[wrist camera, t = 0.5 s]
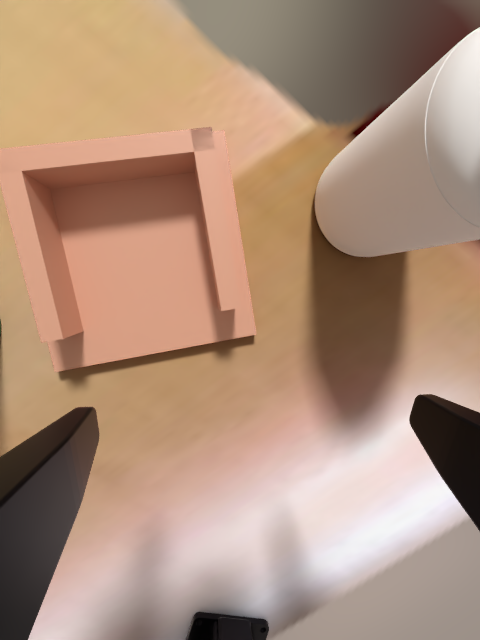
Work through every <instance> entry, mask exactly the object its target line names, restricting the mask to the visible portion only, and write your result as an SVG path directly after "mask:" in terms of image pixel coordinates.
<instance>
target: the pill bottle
mask: <svg viewBox="0 0 480 640" xmlns="http://www.w3.org/2000/svg"><path fill="white" fill-rule="evenodd" d="M315 213H316V218H317V222H318V224H319V227H320V229H321V231H322V233H323V234H324V236H325V237H326V239H327V240H328V241H329V242H330V243H331V244H332V245H333V246H334V247H336V248H337V249H338V250H340V251H342V252H344V253H346V254H349V255H352V256H358V257H375V256H381V255H387V254H393V253H399V252H405V251H411V250H418V249H424V248H430V247H436V246H442V245H448V244H454V243H460V242H467V241H473V240H479V239H480V27H479V28H478V29H476V30H474V31H473V32H472V33H470V34H469V35H468V36H466V37H465V38H464V39H463V40H461V41H460V42H459V43H458V44H457V45H456V46H454V47H453V48H452V49H451V50H450V51H449V52H448V53H447V54H446V55H445V56H443V57H442V58H441V59H440V60H439V61H438V62H437V63H436V64H435V65H434V66H433V67H432V68H431V69H429V71H427V72H426V73H425V74H424V75H423V76H422V77H421V78H420V79H419V80H418V81H417V82H415V83H414V84H413V85H412V86H411V87H410V88H409V89H408V90H407V91H406V92H405V93H404V94H402V95H401V96H400V97H399V98H398V99H397V100H396V101H395V102H394V103H393V104H392V105H391V106H390V107H388V108H387V109H386V110H385V111H384V112H383V113H382V114H381V115H380V116H379V117H378V118H377V119H376V120H374V121H373V122H372V123H371V124H370V125H369V126H368V127H367V128H366V129H365V130H364V131H363V132H362V133H360V134H359V135H358V136H357V137H356V138H355V139H354V140H353V141H352V142H351V143H350V144H349V145H347V146H346V147H345V148H344V149H343V150H342V151H341V152H340V153H339V154H338V155H337V156H336V157H335V158H334V159H333V160H332V161H331V162H330V164H329V165H328V166H327V167H326V169H325V170H324V172H323V174H322V176H321V178H320V180H319V182H318V185H317V189H316V194H315Z"/></svg>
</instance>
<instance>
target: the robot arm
mask: <svg viewBox="0 0 480 640" xmlns="http://www.w3.org/2000/svg"><path fill="white" fill-rule="evenodd" d="M410 425H411V427H412V429H413V430H414V432H415V434H416V436H417V437H418V439H419V441H420V442H421V444H422V446H423V447H424V449H425V451H426V452H427V454H428V456H429V458H430V459H431V461H432V463H433V464H434V466H435V468H436V469H437V471H438V472H439V474H440V476H441V477H442V479H443V480H444V481H445V483H446V484H447V486H448V487H449V489H450V490H451V491H452V493H453V494H454V496H455V497H456V499H457V500H458V501H459V503H460V504H461V506H462V507H463V508H464V510H465V511H466V513H467V514H468V515H469V517H470V518H471V519H472V521H473V522H474V524H475V525H476V527H477V528H478V530H479V531H480V413H479V412H476V411H474V410H471V409H469V408H466V407H463V406H461V405H458V404H456V403H453V402H451V401H448V400H446V399H443V398H440V397H438V396H435V395H432V394H425V395H418V396H417V397H416V398H415V401H414V404H413V407H412V411H411V414H410ZM98 442H99V428H98V422H97V415H96V410H95V408H93V407H77V408H75V409H73V410H72V411H70V412H69V413H67V414H66V415H64V416H63V417H61V418H60V419H58V420H56V421H55V422H53V423H52V424H50V425H49V426H47V427H46V428H44V429H43V430H41V431H39V432H38V433H36V434H35V435H33V436H32V437H30V438H29V439H27V440H26V441H24V442H23V443H21V444H19V445H18V446H16V447H15V448H13V449H12V450H10V451H9V452H7V453H6V454H4V455H3V456H1V457H0V640H28V638H29V635H30V633H31V630H32V628H33V625H34V622H35V620H36V617H37V615H38V612H39V610H40V607H41V605H42V602H43V600H44V597H45V595H46V592H47V589H48V587H49V584H50V582H51V579H52V577H53V574H54V572H55V569H56V567H57V564H58V562H59V559H60V557H61V554H62V551H63V549H64V546H65V544H66V541H67V539H68V536H69V534H70V531H71V529H72V526H73V524H74V521H75V519H76V516H77V513H78V511H79V508H80V505H81V502H82V499H83V496H84V492H85V489H86V485H87V482H88V478H89V474H90V471H91V467H92V464H93V460H94V456H95V453H96V449H97V445H98ZM268 631H269V627H268V622H267V621H266V620H264V619H256V618H247V617H239V616H230V615H221V614H212V613H204V612H198V613H196V614H195V615H194V616H193V619H192V622H191V625H190V628H189V632H188V635H187V638H186V640H266V637H267V634H268Z"/></svg>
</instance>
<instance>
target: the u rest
mask: <svg viewBox="0 0 480 640" xmlns="http://www.w3.org/2000/svg"><path fill="white" fill-rule="evenodd" d="M0 186H1V189H2V193H3V197H4V201H5V205H6V209H7V213H8V217H9V220H10V224H11V228H12V232H13V236H14V240H15V244H16V248H17V251H18V255H19V259H20V263H21V267H22V271H23V275H24V278H25V282H26V286H27V290H28V294H29V298H30V302H31V306H32V309H33V313H34V317H35V321H36V325H37V329H38V333H39V337H40V340H41V343H43V342H47V343H48V347H49V351H50V355H51V359H52V363H53V367H54V371H55V372H58V371H64V370H69V369H74V368H80V367H85V366H91V365H96V364H101V363H107V362H112V361H117V360H123V359H128V358H133V357H139V356H144V355H149V354H155V353H160V352H165V351H171V350H176V349H181V348H187V347H192V346H198V345H203V344H208V343H214V342H219V341H224V340H230V339H235V338H240V337H246V336H251V335H256V328H255V322H254V315H253V309H252V302H251V296H250V290H249V283H248V277H247V271H246V264H245V258H244V252H243V245H242V239H241V233H240V226H239V220H238V214H237V207H236V201H235V195H234V188H233V182H232V176H231V169H230V163H229V157H228V150H227V144H226V138H225V131H224V130H221V131H212V128H211V127H206V128H197V129H187V130H177V131H167V132H158V133H148V134H138V135H128V136H119V137H109V138H99V139H89V140H80V141H70V142H60V143H50V144H40V145H31V146H21V147H11V148H1V149H0Z"/></svg>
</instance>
